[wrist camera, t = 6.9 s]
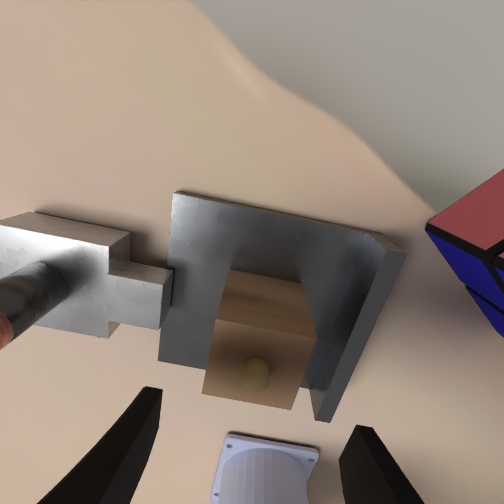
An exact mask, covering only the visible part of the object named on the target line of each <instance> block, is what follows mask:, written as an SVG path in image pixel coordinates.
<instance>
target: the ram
mask: <svg viewBox="0 0 504 504" xmlns="http://www.w3.org/2000/svg"><path fill="white" fill-rule="evenodd" d="M130 237H131V232H127V231H123V230H118V229H113V228H108V227H103V226H98V225H93V224H88V223H83V222H78V221H73V220H68V219H63V218H58V217H53V216H48V215H43V214H39V213H34V212H27V213H24V214H20V215H17V216H13V217H10V218H6V219H3V220H0V350H1V349H3V348H4V347H5V346H6V345H8V344H9V343H10V342H11V341H13V340H14V339H15V338H17V337H18V336H19V335H20V334H22V333H23V332H24V331H25V330H27V329H28V328H29V327H31V326H32V325H37V326H43V327H48V328H54V329H59V330H64V331H70V332H75V333H80V334H86V335H91V336H96V337H102V338H107V339H109V337H110V336H111V335H112V334H113V332H114V331H115V330H116V328H117V327H118V326H119V325H120V323H123V324H129V325H134V326H139V327H145V328H150V329H155V330H159V329H160V327H161V325H162V324H163V322H164V320H165V318H166V316H167V315H168V313H169V307H170V297H171V287H172V278H173V270H168V269H163V268H158V267H153V266H148V265H143V264H138V263H133V262H130Z"/></svg>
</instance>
